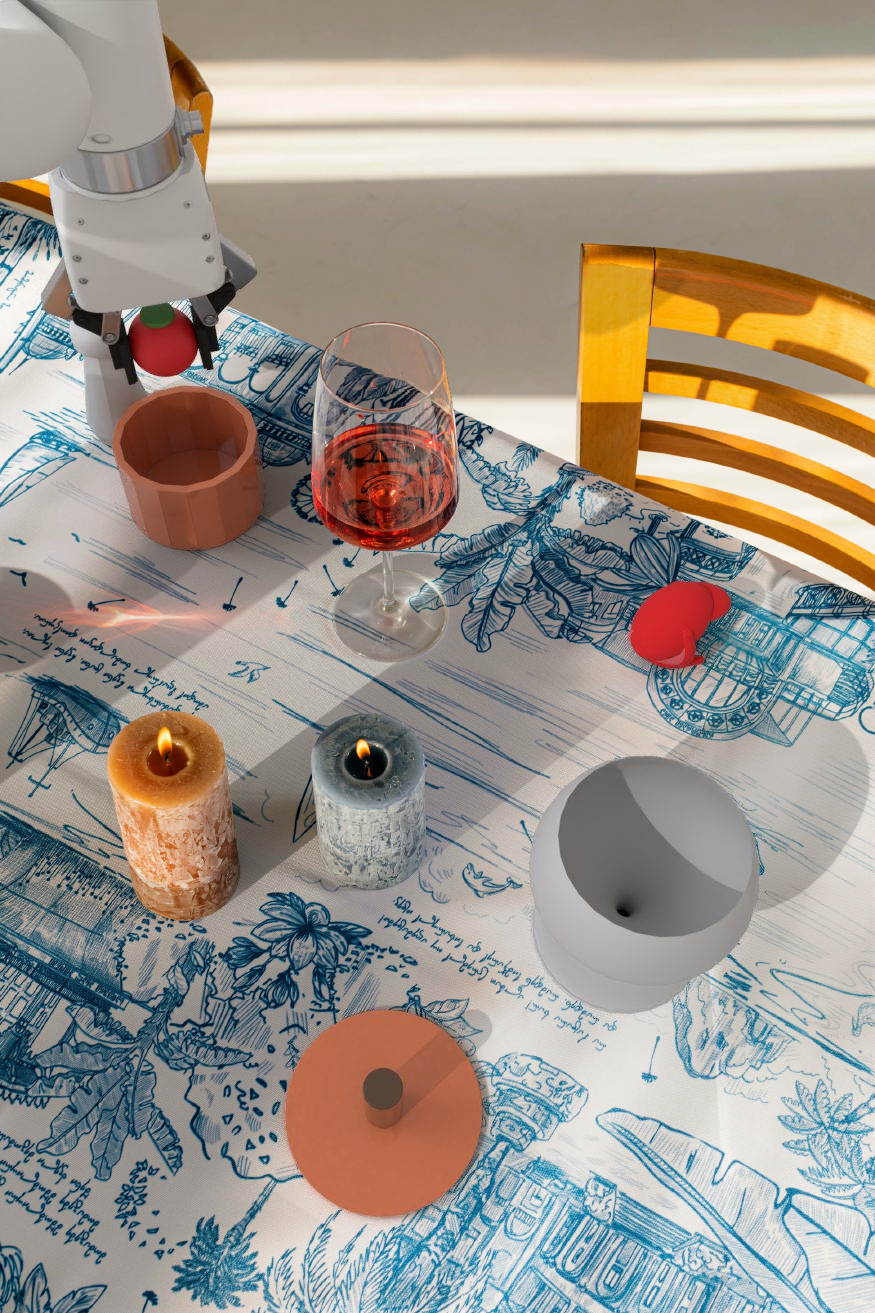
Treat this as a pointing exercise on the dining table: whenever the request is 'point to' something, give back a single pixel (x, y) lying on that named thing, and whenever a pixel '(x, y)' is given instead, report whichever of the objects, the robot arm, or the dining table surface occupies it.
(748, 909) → the chalice
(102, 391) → the salt shaker
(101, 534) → the dining table surface
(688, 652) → the cap
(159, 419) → the pot
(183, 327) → the tomato
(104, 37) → the robot arm
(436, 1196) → the lid
